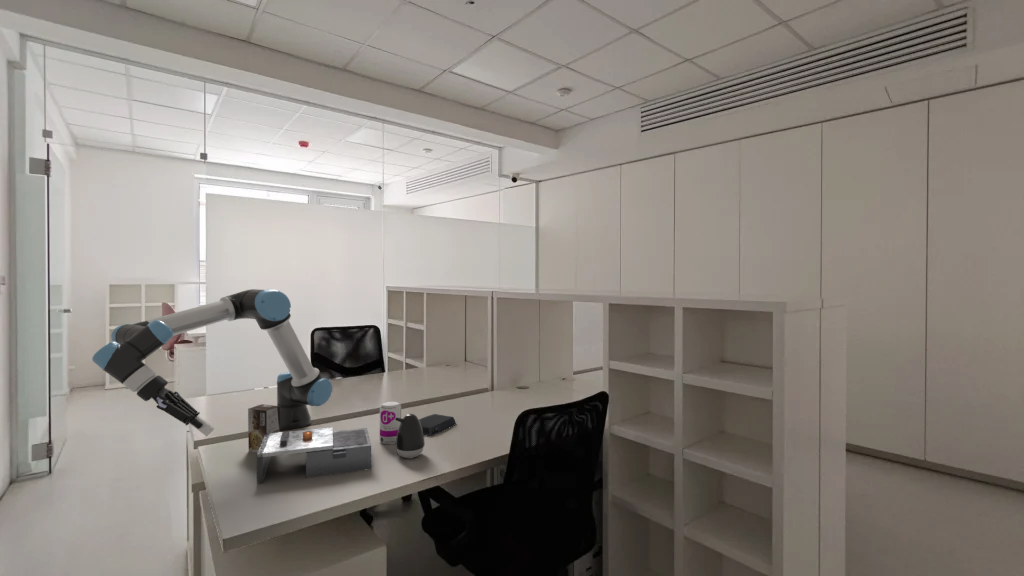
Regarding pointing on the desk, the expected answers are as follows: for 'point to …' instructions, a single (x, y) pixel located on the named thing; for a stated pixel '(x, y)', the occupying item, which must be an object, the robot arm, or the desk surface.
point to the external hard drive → (436, 424)
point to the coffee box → (262, 424)
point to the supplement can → (389, 421)
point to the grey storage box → (341, 454)
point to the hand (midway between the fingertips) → (210, 432)
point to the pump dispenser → (409, 437)
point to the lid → (291, 445)
